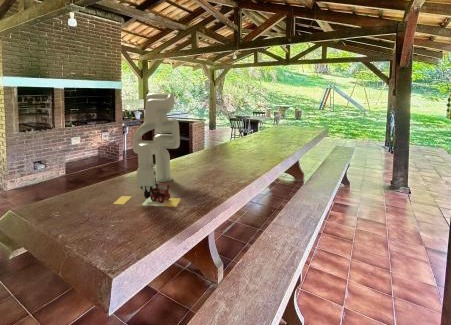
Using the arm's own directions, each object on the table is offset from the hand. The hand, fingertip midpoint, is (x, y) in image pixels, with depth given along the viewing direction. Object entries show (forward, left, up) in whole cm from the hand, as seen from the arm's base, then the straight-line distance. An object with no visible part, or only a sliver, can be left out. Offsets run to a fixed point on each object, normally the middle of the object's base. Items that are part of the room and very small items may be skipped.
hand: (147, 197), depth 162 cm
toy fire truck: (-2, +7, -2) cm, 7 cm away
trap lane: (0, 0, -2) cm, 2 cm away
